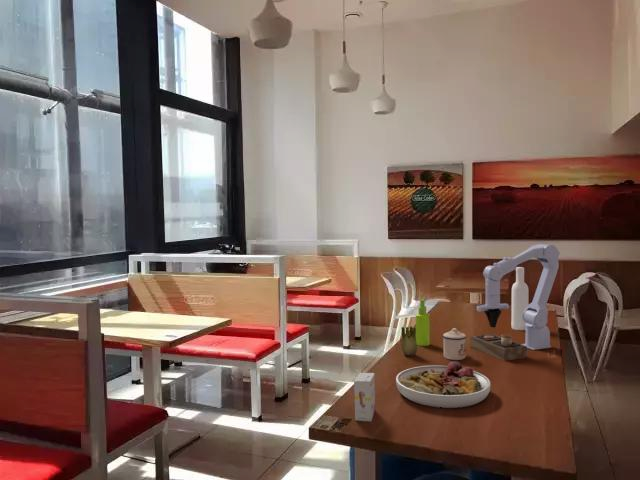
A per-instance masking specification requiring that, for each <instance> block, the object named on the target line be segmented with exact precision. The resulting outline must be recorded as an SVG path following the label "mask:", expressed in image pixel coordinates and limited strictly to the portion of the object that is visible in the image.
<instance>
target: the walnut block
mask: <svg viewBox="0 0 640 480" xmlns="http://www.w3.org/2000/svg"><path fill="white" fill-rule="evenodd" d="M484 336H494V338H492V339H486V338H484ZM469 342H470V343H469V346H470V348H471V349H474V350H476V351H479V352H481V353H483V354H487V355H489V356H491V357H494V358H496V359H500V360H501V361H505V362H507V361H511V360H520V359H526V358H528V348H527V346H524V345H522V344H523V343H522V344H521V343H518V342H516V341H513V340H512V345H503V344H501V336H498V335H495V334H492V333H489V334H480V335H474V336H473V335H472V336H470V337H469Z"/></svg>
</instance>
